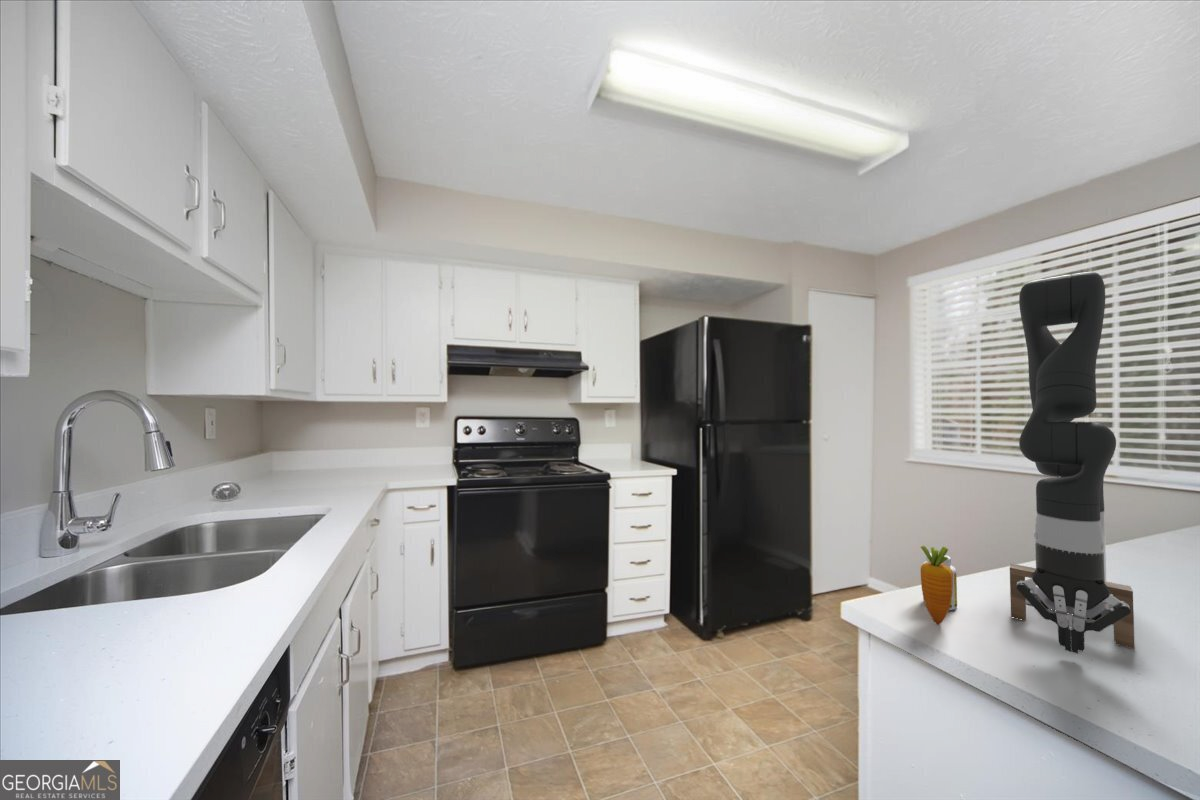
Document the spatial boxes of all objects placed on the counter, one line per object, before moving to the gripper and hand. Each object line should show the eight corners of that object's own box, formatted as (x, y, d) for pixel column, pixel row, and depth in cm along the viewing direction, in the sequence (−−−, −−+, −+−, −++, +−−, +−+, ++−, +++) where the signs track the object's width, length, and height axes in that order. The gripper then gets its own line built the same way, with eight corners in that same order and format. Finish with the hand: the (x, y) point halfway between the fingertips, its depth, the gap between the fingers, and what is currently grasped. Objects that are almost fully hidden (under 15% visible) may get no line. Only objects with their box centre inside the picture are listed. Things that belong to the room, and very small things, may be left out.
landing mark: (1025, 585, 96) (1025, 585, 96) (1107, 603, 87) (1107, 602, 87) (1023, 603, 88) (1023, 602, 88) (1114, 624, 79) (1114, 623, 79)
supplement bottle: (940, 598, 91) (938, 550, 91) (964, 610, 85) (963, 559, 85) (916, 599, 90) (915, 551, 90) (939, 612, 85) (938, 561, 85)
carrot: (915, 620, 82) (913, 543, 82) (932, 615, 83) (930, 539, 84) (943, 633, 77) (941, 551, 77) (961, 628, 79) (959, 547, 79)
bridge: (1011, 612, 84) (1010, 563, 84) (1132, 641, 73) (1130, 585, 74) (1010, 617, 82) (1009, 567, 82) (1134, 648, 71) (1132, 591, 71)
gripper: (1129, 547, 67) (1132, 657, 67) (1012, 530, 76) (1015, 626, 76) (1136, 560, 62) (1140, 679, 61) (1010, 540, 71) (1013, 643, 71)
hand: (1071, 649), depth 69 cm, fingers closed
